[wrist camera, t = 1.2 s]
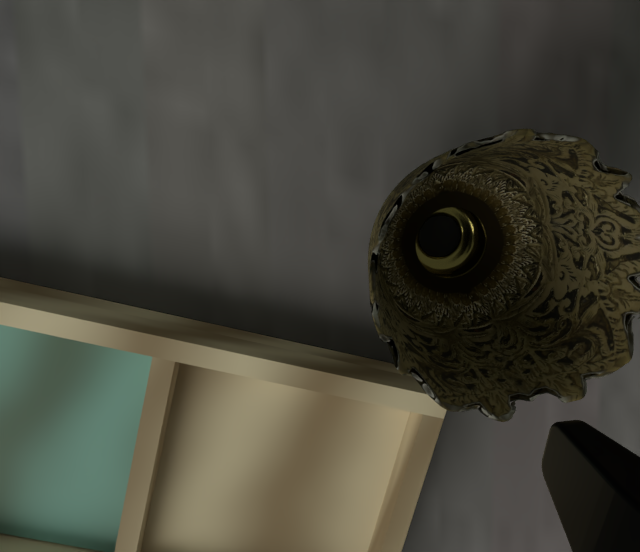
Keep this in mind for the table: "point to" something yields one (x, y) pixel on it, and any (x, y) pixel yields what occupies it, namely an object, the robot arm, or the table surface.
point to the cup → (509, 272)
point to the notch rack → (197, 435)
